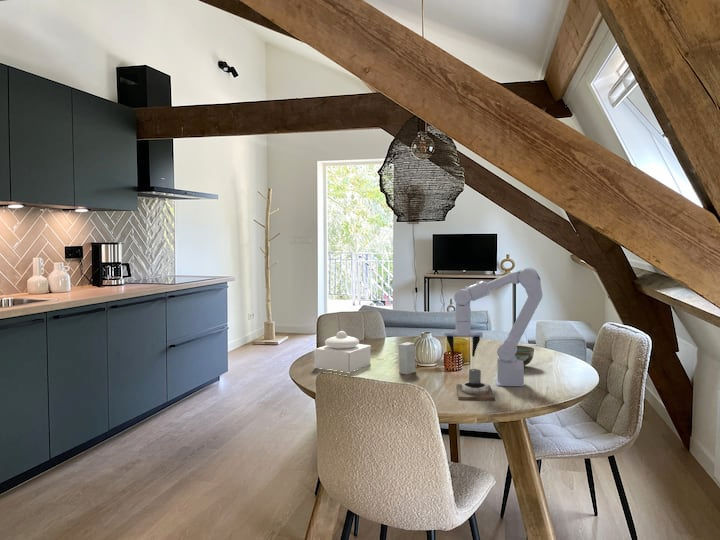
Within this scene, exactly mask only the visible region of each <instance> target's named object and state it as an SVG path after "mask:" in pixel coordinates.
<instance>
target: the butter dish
mask: <svg viewBox="0 0 720 540" xmlns="http://www.w3.org/2000/svg"><path fill="white" fill-rule="evenodd" d="M371 348H372V345H370V344H363V343H360V339H358V338H357V337H354V336H350V335H348V334H347V332H345V331H344V330H340V331H338V332H337V333H336V335H335V336H332V337H328V338H327V339H326V340H324V346H320V347H317V348H315V349H314V350H313V351H314V353H313V354H314V358H313V359H314V369H315V368H322V369H333V370H337V371H343V372H351V373H353V372H352V371H354V370H356V371H358V370H357V369H359V370H361V369H363V368H362V367H364V368H366V367H369V366H371ZM368 365H369V366H368ZM365 366H366V367H365ZM360 368H361V369H360ZM343 372H342V373H343ZM354 372H355V371H354Z"/></svg>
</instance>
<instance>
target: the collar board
mask: <svg viewBox="0 0 720 540" xmlns="http://www.w3.org/2000/svg"><path fill="white" fill-rule="evenodd" d="M455 387H456V392H457V397H458V400H464V401H465V400H466V401H468V400H469V401H496V397H495V394H494V392H493V389H492V387H491V385H490V384H487V383H485V382H482V381H481V384H480V387H479V388H475V387H469V381H465V382H463V383H461V384H460V383H459V384H458V383H457V384H456V385H455Z"/></svg>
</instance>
